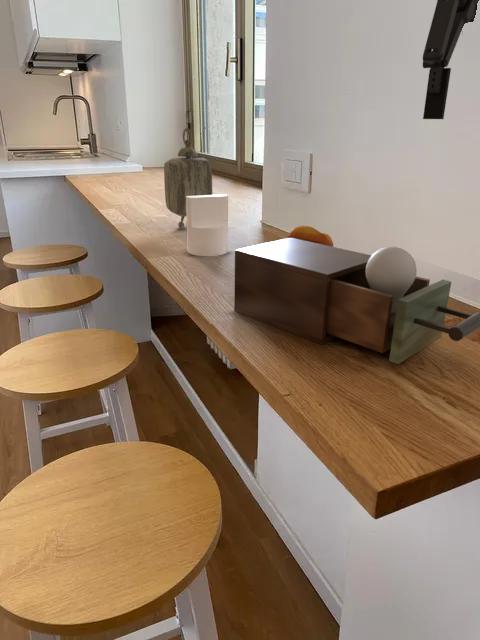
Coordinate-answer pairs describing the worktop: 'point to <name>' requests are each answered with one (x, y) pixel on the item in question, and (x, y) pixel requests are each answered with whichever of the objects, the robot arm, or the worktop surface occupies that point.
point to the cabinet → (291, 284)
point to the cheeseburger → (310, 235)
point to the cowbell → (186, 179)
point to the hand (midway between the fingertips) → (449, 119)
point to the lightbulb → (391, 274)
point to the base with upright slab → (207, 224)
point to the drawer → (410, 320)
